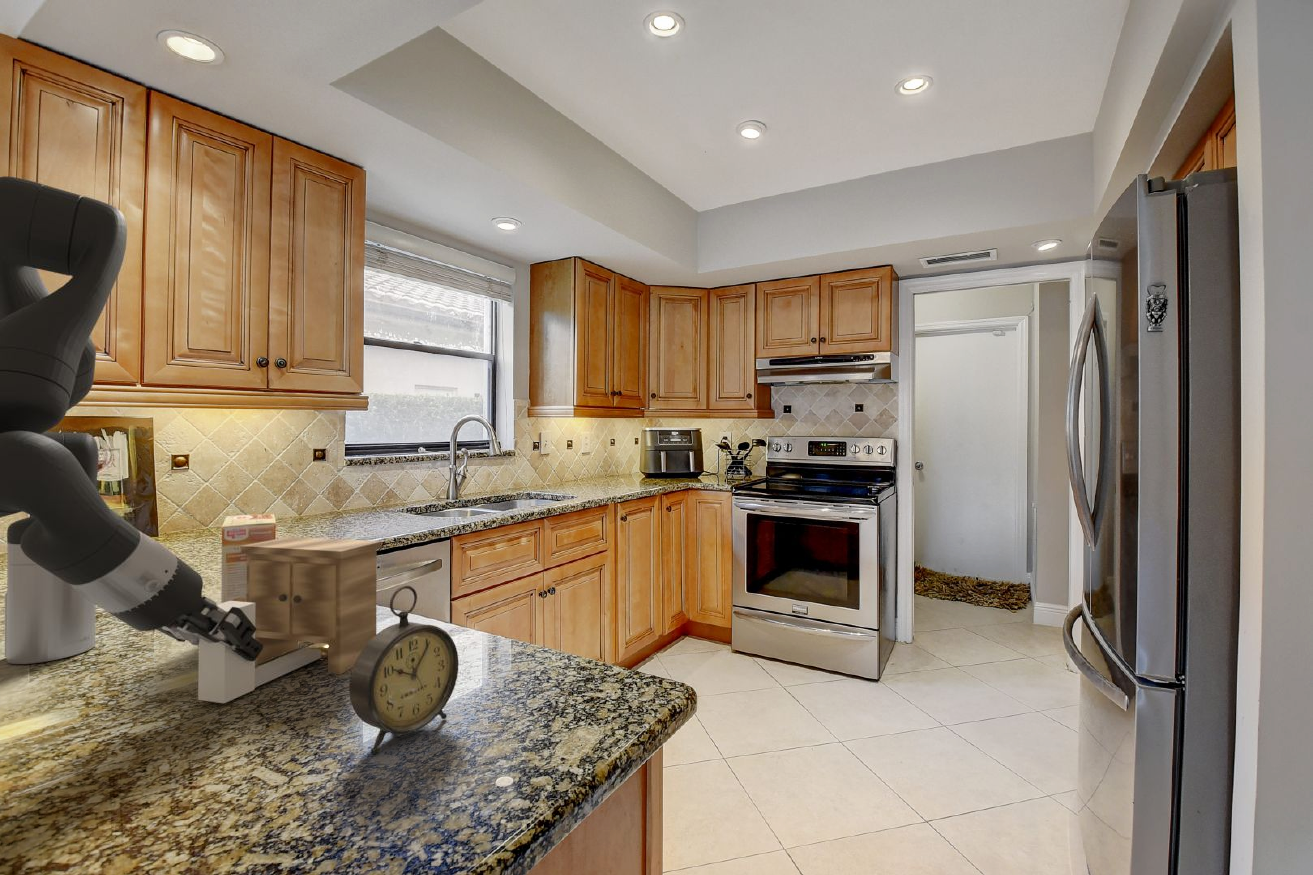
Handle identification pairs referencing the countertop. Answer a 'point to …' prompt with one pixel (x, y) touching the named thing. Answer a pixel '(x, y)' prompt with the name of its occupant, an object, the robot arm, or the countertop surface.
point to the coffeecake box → (235, 562)
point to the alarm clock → (403, 676)
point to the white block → (241, 665)
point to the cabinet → (313, 596)
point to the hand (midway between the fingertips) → (241, 652)
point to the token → (323, 649)
